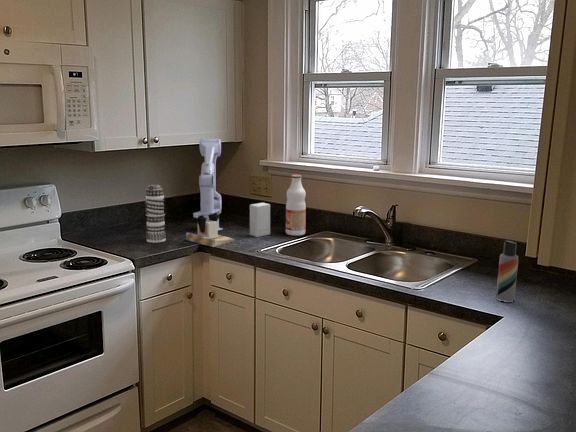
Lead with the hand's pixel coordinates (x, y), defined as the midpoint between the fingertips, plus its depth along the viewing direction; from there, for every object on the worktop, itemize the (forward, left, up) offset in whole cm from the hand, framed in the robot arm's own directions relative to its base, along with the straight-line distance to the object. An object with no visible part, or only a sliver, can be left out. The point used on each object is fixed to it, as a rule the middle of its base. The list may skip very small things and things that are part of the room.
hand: (207, 231), depth 262 cm
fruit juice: (+19, +38, -5) cm, 43 cm away
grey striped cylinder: (-17, -16, -5) cm, 23 cm away
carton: (0, 0, -2) cm, 3 cm away
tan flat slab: (+1, +1, -4) cm, 5 cm away
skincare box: (+9, +24, -5) cm, 26 cm away
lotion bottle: (+129, +15, -5) cm, 130 cm away
